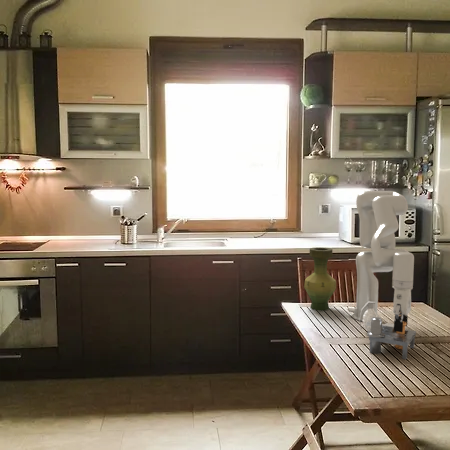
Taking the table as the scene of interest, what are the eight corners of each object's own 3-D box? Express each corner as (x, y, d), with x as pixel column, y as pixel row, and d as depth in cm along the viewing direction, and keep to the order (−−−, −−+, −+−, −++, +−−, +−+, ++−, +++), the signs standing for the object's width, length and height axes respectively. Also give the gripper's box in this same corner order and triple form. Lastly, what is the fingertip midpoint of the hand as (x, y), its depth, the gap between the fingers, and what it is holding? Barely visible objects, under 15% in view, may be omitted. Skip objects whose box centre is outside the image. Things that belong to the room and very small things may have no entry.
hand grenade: (360, 333, 212) (361, 303, 210) (357, 328, 218) (358, 299, 216) (379, 334, 211) (380, 304, 209) (375, 329, 217) (377, 300, 216)
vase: (310, 302, 262) (311, 245, 259) (340, 306, 254) (341, 248, 250) (298, 309, 248) (299, 250, 244) (329, 314, 240) (331, 252, 236)
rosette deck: (357, 351, 191) (358, 318, 189) (369, 338, 205) (370, 308, 203) (406, 360, 181) (407, 326, 180) (415, 347, 195) (416, 314, 194)
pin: (392, 348, 194) (394, 322, 193) (395, 345, 197) (396, 320, 197) (404, 350, 192) (405, 324, 191) (406, 347, 195) (407, 322, 195)
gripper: (407, 289, 182) (405, 336, 184) (417, 281, 197) (415, 324, 199) (387, 287, 186) (385, 333, 188) (397, 278, 201) (395, 321, 203)
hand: (400, 328), depth 194 cm, fingers open, 7 cm apart
